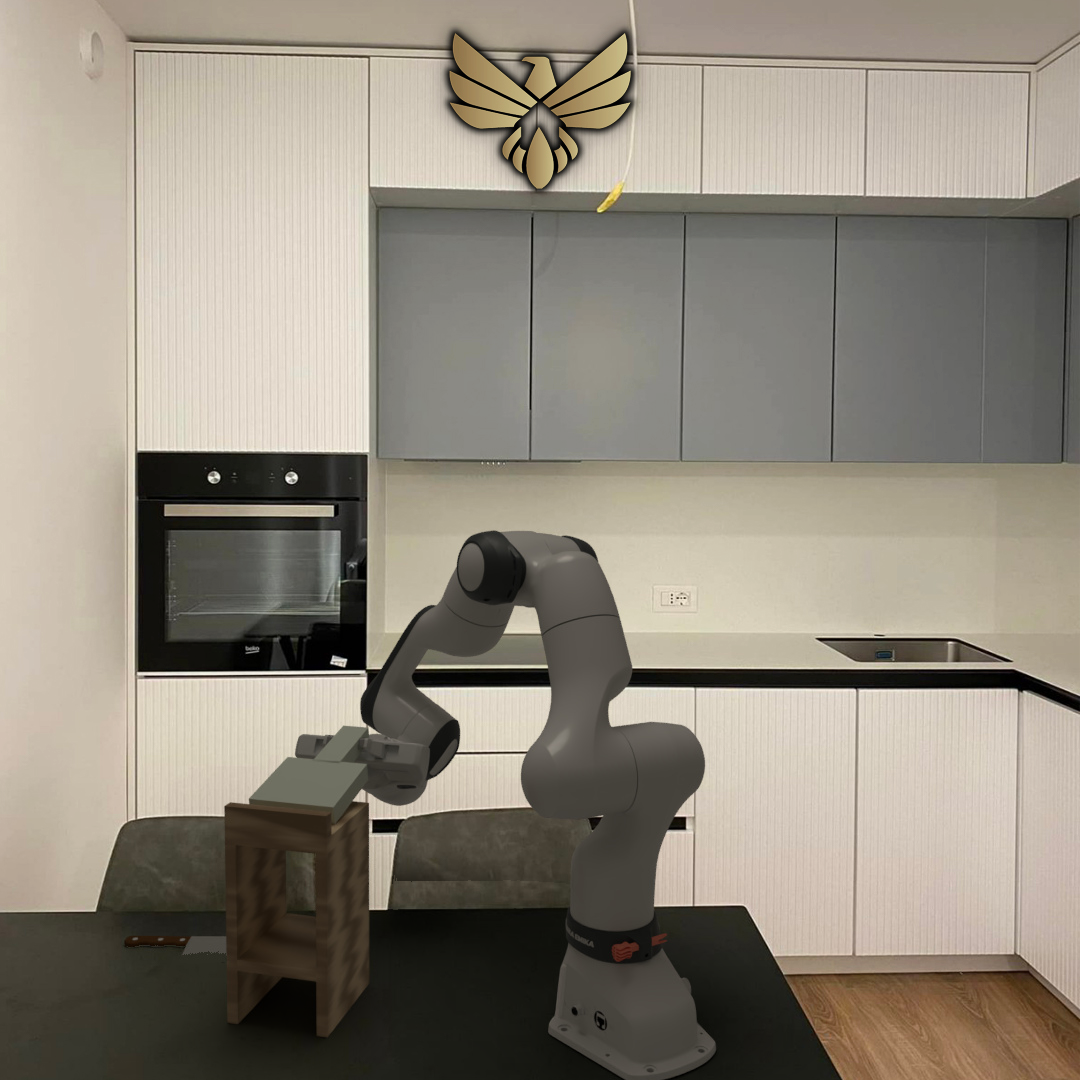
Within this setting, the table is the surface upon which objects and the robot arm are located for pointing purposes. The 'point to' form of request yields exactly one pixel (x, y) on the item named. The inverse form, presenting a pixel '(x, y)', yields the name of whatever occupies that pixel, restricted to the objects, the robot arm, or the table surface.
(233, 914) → the rack
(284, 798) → the grey paddle board
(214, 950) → the kitchen cleaver
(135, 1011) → the table surface
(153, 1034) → the table surface
